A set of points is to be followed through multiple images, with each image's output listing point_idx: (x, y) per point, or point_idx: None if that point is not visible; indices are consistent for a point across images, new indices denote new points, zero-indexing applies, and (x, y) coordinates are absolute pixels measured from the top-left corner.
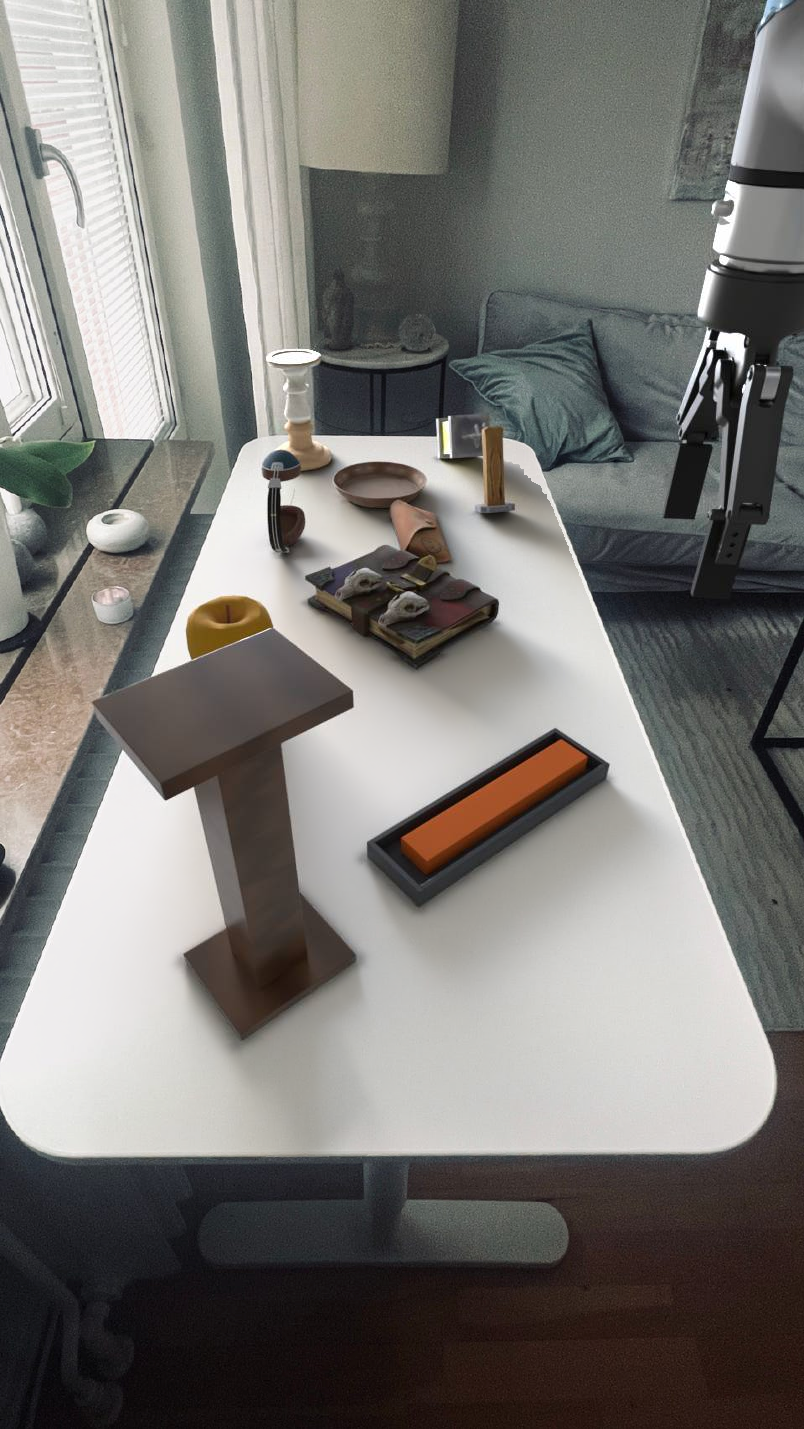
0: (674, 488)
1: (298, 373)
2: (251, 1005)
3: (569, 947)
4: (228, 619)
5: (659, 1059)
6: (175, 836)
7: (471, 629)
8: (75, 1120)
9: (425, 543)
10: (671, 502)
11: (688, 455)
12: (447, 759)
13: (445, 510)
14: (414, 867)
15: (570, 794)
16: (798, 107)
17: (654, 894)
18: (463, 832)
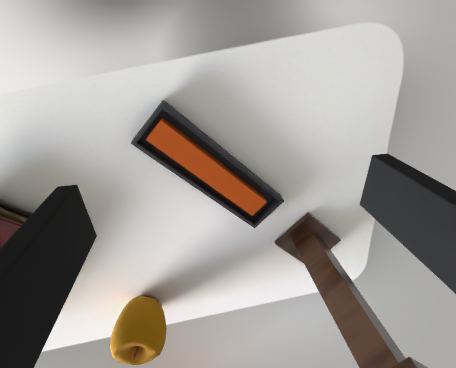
0: (68, 280)
1: None
2: (330, 240)
3: (302, 124)
4: (137, 349)
5: (363, 80)
6: (248, 287)
7: (14, 210)
8: (358, 266)
9: None
10: (82, 253)
11: (11, 363)
12: (171, 199)
13: None
14: None
15: (196, 129)
16: None
17: (264, 72)
18: (245, 189)
